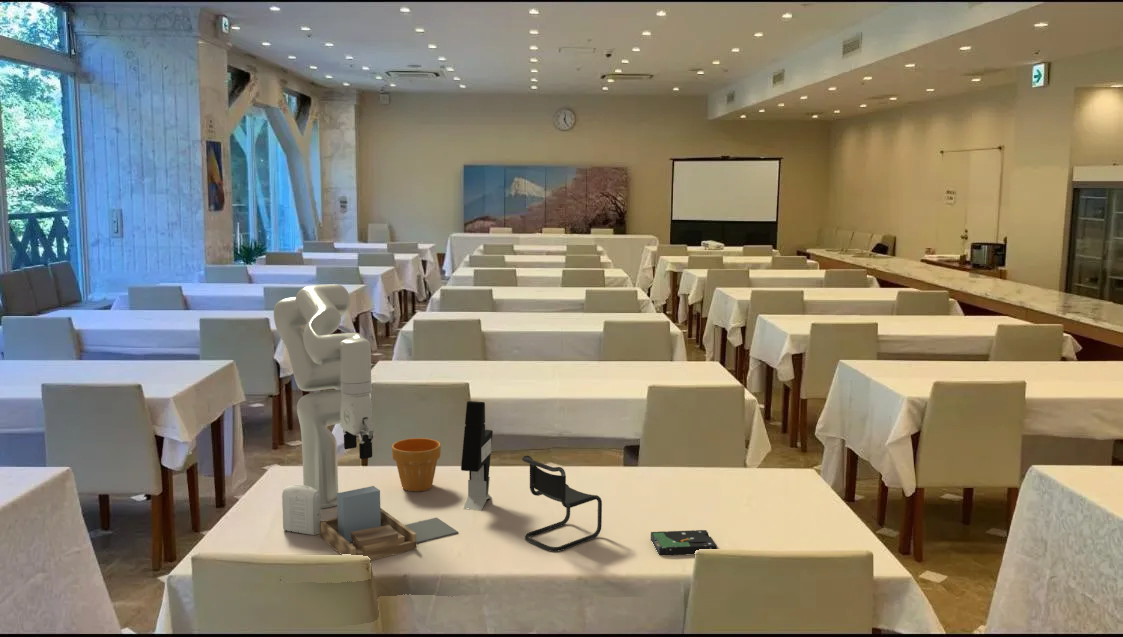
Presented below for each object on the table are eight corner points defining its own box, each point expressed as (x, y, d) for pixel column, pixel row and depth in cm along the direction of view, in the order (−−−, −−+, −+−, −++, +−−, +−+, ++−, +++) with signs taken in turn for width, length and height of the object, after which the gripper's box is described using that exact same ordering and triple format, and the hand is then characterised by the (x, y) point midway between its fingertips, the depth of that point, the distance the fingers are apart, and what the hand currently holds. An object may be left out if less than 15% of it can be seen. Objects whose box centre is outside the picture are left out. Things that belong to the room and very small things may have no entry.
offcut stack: (347, 549, 231) (347, 532, 231) (393, 539, 238) (392, 522, 238) (359, 560, 225) (359, 542, 225) (406, 548, 232) (405, 531, 232)
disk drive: (705, 539, 242) (649, 541, 240) (705, 529, 241) (650, 531, 239) (717, 556, 232) (659, 557, 230) (717, 545, 231) (659, 547, 229)
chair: (519, 538, 239) (519, 456, 236) (567, 521, 251) (568, 443, 248) (553, 554, 230) (554, 469, 227) (602, 536, 242) (603, 454, 238)
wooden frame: (320, 536, 240) (319, 521, 239) (381, 522, 249) (381, 508, 249) (352, 565, 223) (351, 549, 222) (416, 548, 232) (416, 533, 232)
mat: (396, 528, 245) (396, 526, 245) (436, 518, 252) (436, 517, 252) (416, 543, 236) (416, 542, 236) (458, 533, 243) (458, 531, 242)
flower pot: (394, 479, 283) (393, 438, 281) (441, 478, 285) (441, 437, 283) (391, 495, 269) (390, 452, 267) (440, 494, 271) (440, 451, 269)
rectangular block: (338, 537, 239) (336, 493, 237) (374, 529, 245) (373, 485, 243) (344, 543, 236) (343, 497, 234) (380, 534, 241) (379, 490, 239)
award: (478, 513, 256) (478, 408, 251) (460, 512, 257) (459, 406, 252) (493, 495, 271) (493, 394, 266) (476, 493, 272) (475, 393, 267)
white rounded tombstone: (324, 530, 244) (322, 485, 242) (315, 536, 240) (313, 490, 238) (290, 525, 247) (288, 480, 245) (280, 531, 243) (278, 486, 241)
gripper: (328, 382, 239) (331, 447, 241) (356, 396, 225) (357, 464, 227) (356, 379, 243) (358, 442, 246) (384, 392, 229) (386, 459, 232)
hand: (358, 453), depth 237 cm, fingers open, 9 cm apart
